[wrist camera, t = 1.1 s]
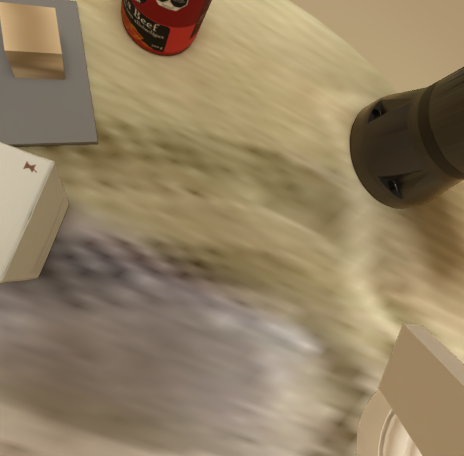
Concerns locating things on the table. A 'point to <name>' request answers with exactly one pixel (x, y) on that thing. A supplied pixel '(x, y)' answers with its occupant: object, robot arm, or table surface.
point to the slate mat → (49, 91)
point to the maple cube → (32, 41)
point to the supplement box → (27, 212)
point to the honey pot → (383, 431)
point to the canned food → (164, 23)
